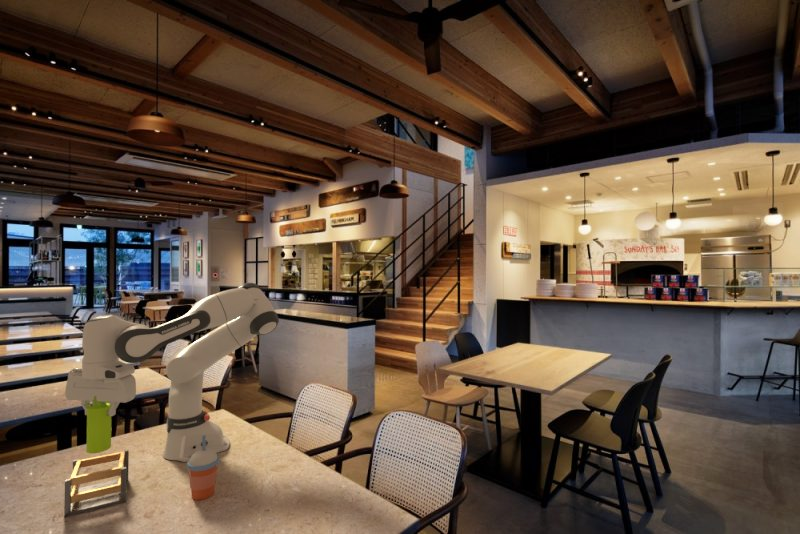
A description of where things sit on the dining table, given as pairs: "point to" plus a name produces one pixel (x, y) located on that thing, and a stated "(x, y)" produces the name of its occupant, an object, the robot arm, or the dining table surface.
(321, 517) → the dining table surface
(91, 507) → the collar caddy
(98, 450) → the soap dispenser
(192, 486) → the cup with straw
